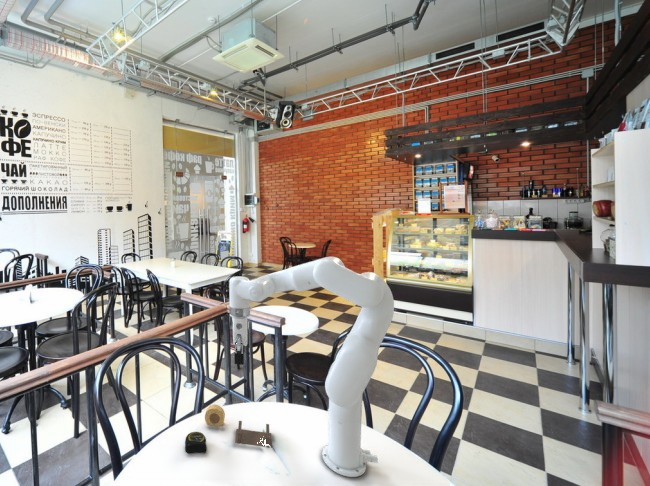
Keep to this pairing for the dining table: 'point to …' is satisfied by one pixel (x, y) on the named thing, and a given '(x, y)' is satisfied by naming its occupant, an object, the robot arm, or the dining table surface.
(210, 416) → the tape roll
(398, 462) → the dining table surface
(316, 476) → the dining table surface
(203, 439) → the tape measure
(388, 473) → the dining table surface
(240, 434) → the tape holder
